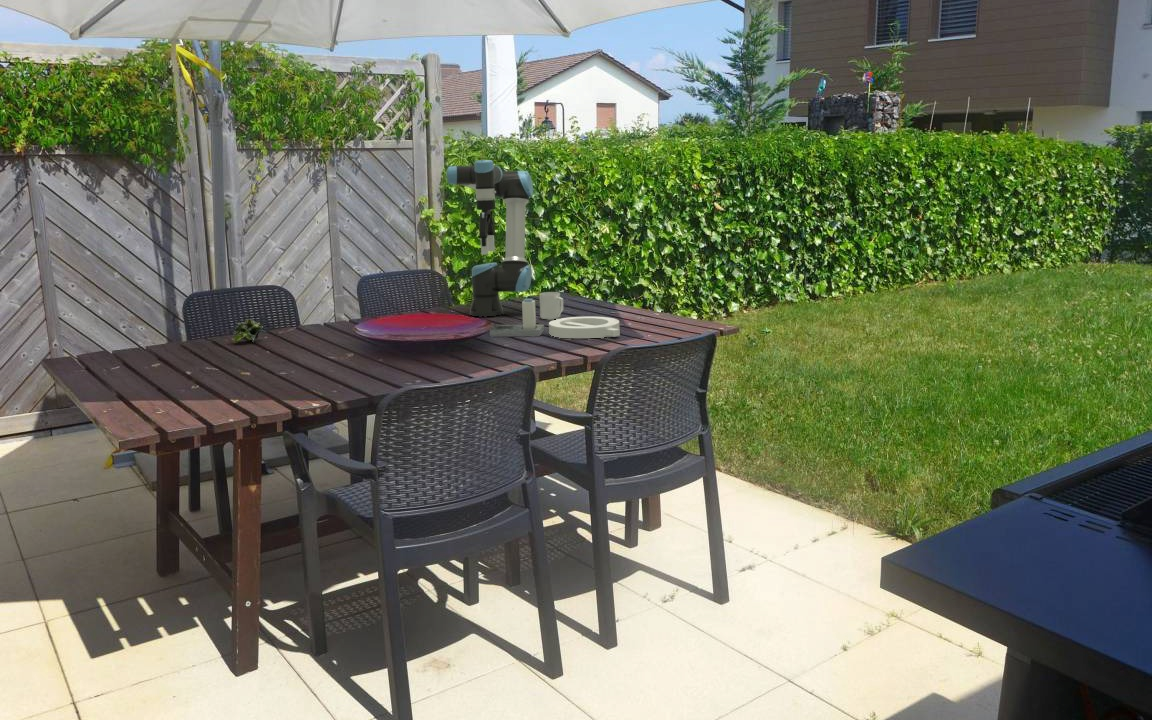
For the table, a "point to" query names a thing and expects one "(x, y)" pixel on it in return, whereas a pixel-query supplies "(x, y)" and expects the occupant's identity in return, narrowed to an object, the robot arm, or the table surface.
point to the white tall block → (529, 314)
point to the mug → (550, 305)
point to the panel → (515, 331)
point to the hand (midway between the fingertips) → (488, 253)
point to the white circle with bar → (584, 327)
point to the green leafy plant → (248, 330)
